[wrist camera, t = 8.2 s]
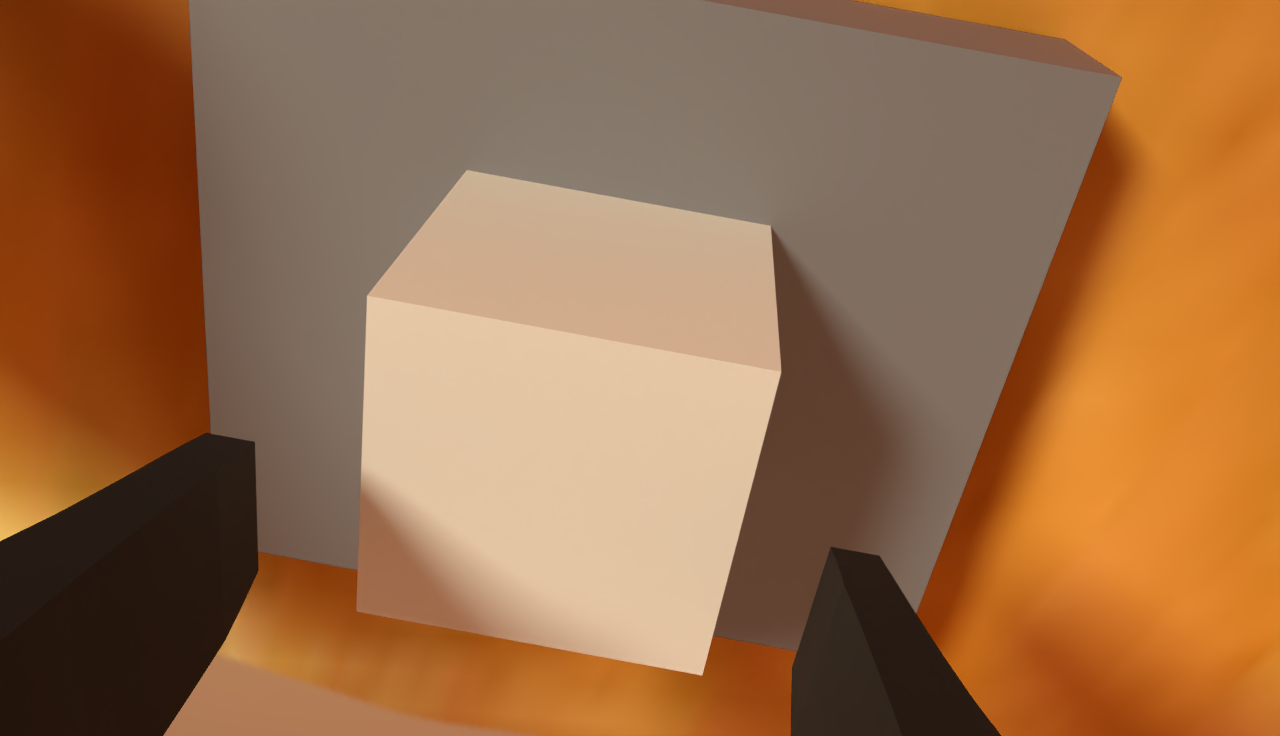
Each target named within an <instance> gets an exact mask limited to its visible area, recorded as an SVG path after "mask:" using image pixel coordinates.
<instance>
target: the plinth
mask: <svg viewBox="0 0 1280 736" xmlns="http://www.w3.org/2000/svg"><path fill="white" fill-rule="evenodd" d="M189 18H190V38H191V57H192V77H193V97H194V116H195V136H196V156H197V175H198V195H199V215H200V235H201V254H202V274H203V294H204V313H205V333H206V353H207V372H208V392H209V412H210V431H211V434H215V435H221V436H226V437H232V438H237V439H243V440H248V441H254V442H255V460H256V498H257V535H258V552H261V553H267V554H272V555H278V556H283V557H288V558H294V559H299V560H305V561H310V562H316V563H321V564H326V565H332V566H337V567H343V568H348V569H353V570H358V547H359V518H360V489H361V459H362V430H363V400H364V371H365V342H366V312H367V295H368V294H369V293H370V291H371V290H372V289H373V288H374V286H375V285H376V284H377V282H378V281H379V280H380V279H381V277H382V276H383V275H384V274H385V272H386V271H387V270H388V269H389V267H390V266H391V265H392V264H393V262H394V261H395V260H396V259H397V257H398V256H399V255H400V254H401V252H402V251H403V250H404V249H405V247H406V246H407V245H408V243H409V242H410V241H411V240H412V238H413V237H414V236H415V235H416V233H417V232H418V231H419V230H420V228H421V227H422V226H423V225H424V223H425V222H426V221H427V220H428V218H429V217H430V216H431V215H432V213H433V212H434V211H435V209H436V208H437V207H438V206H439V204H440V203H441V202H442V201H443V199H444V198H445V197H446V196H447V194H448V193H449V192H450V191H451V189H452V188H453V187H454V186H455V184H456V183H457V182H458V181H459V179H460V178H461V177H462V176H463V174H464V173H465V172H466V170H469V171H475V172H480V173H486V174H491V175H497V176H502V177H507V178H513V179H518V180H524V181H529V182H535V183H540V184H546V185H551V186H556V187H562V188H567V189H573V190H578V191H584V192H589V193H595V194H600V195H605V196H611V197H616V198H622V199H627V200H633V201H638V202H644V203H649V204H654V205H660V206H665V207H671V208H676V209H682V210H687V211H693V212H698V213H703V214H709V215H714V216H720V217H725V218H731V219H736V220H742V221H747V222H752V223H758V224H763V225H769V226H771V236H772V249H773V263H774V277H775V291H776V304H777V318H778V332H779V346H780V359H781V375H780V379H779V383H778V387H777V391H776V395H775V398H774V402H773V406H772V410H771V414H770V418H769V421H768V425H767V429H766V433H765V437H764V441H763V444H762V448H761V452H760V456H759V460H758V464H757V468H756V471H755V475H754V479H753V483H752V487H751V491H750V494H749V498H748V502H747V506H746V510H745V514H744V518H743V521H742V525H741V529H740V533H739V537H738V541H737V544H736V548H735V552H734V556H733V560H732V564H731V567H730V571H729V575H728V579H727V583H726V587H725V591H724V594H723V598H722V602H721V606H720V610H719V614H718V617H717V621H716V625H715V629H714V633H713V636H716V637H722V638H727V639H733V640H738V641H743V642H749V643H754V644H760V645H765V646H771V647H776V648H781V649H787V650H792V651H798V648H799V645H800V641H801V638H802V635H803V632H804V629H805V626H806V623H807V619H808V616H809V613H810V610H811V607H812V604H813V601H814V597H815V594H816V591H817V588H818V585H819V582H820V578H821V575H822V572H823V569H824V566H825V563H826V560H827V556H828V553H829V550H830V547H835V548H841V549H846V550H852V551H857V552H863V553H868V554H873V555H879V556H880V557H881V559H882V560H883V562H884V563H885V565H886V567H887V568H888V570H889V571H890V573H891V574H892V576H893V577H894V579H895V581H896V582H897V584H898V585H899V587H900V589H901V590H902V592H903V594H904V595H905V597H906V598H907V600H908V602H909V603H910V605H911V606H912V608H913V610H914V611H915V613H917V610H918V607H919V605H920V602H921V600H922V597H923V594H924V592H925V589H926V587H927V584H928V581H929V579H930V576H931V574H932V571H933V568H934V566H935V563H936V561H937V558H938V555H939V553H940V550H941V548H942V545H943V542H944V540H945V537H946V535H947V532H948V529H949V527H950V524H951V522H952V519H953V516H954V514H955V511H956V509H957V506H958V503H959V501H960V498H961V496H962V493H963V490H964V488H965V485H966V483H967V480H968V477H969V475H970V472H971V470H972V467H973V464H974V462H975V459H976V457H977V454H978V451H979V449H980V446H981V443H982V441H983V438H984V436H985V433H986V430H987V428H988V425H989V423H990V420H991V417H992V415H993V412H994V410H995V407H996V404H997V402H998V399H999V397H1000V394H1001V391H1002V389H1003V386H1004V384H1005V381H1006V378H1007V376H1008V373H1009V371H1010V368H1011V365H1012V363H1013V360H1014V358H1015V355H1016V352H1017V350H1018V347H1019V345H1020V342H1021V339H1022V337H1023V334H1024V332H1025V329H1026V326H1027V324H1028V321H1029V319H1030V316H1031V313H1032V311H1033V308H1034V306H1035V303H1036V300H1037V298H1038V295H1039V293H1040V290H1041V287H1042V285H1043V282H1044V279H1045V277H1046V274H1047V272H1048V269H1049V266H1050V264H1051V261H1052V259H1053V256H1054V253H1055V251H1056V248H1057V246H1058V243H1059V240H1060V238H1061V235H1062V233H1063V230H1064V227H1065V225H1066V222H1067V220H1068V217H1069V214H1070V212H1071V209H1072V207H1073V204H1074V201H1075V199H1076V196H1077V194H1078V191H1079V188H1080V186H1081V183H1082V181H1083V178H1084V175H1085V173H1086V170H1087V168H1088V165H1089V162H1090V160H1091V157H1092V155H1093V152H1094V149H1095V147H1096V144H1097V142H1098V139H1099V136H1100V134H1101V131H1102V129H1103V126H1104V123H1105V121H1106V118H1107V115H1108V113H1109V110H1110V108H1111V105H1112V102H1113V100H1114V97H1115V95H1116V92H1117V89H1118V87H1119V84H1120V82H1121V79H1122V77H1121V76H1119V75H1118V74H1116V73H1115V72H1113V71H1112V70H1110V69H1109V68H1107V67H1106V66H1104V65H1103V64H1101V63H1100V62H1098V61H1097V60H1095V59H1094V58H1092V57H1091V56H1089V55H1088V54H1086V53H1085V52H1083V51H1082V50H1080V49H1079V48H1077V47H1076V46H1074V45H1073V44H1071V43H1070V42H1068V41H1067V40H1065V39H1059V38H1054V37H1049V36H1043V35H1038V34H1032V33H1027V32H1021V31H1016V30H1011V29H1005V28H1000V27H994V26H989V25H983V24H978V23H972V22H967V21H962V20H956V19H951V18H945V17H940V16H934V15H929V14H923V13H918V12H913V11H907V10H902V9H896V8H891V7H885V6H880V5H874V4H869V3H864V2H858V1H853V0H189Z"/></svg>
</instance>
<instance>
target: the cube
mask: <svg viewBox="0 0 1280 736" xmlns="http://www.w3.org/2000/svg"><path fill="white" fill-rule="evenodd" d="M780 375H781V359H780V346H779V332H778V318H777V304H776V291H775V277H774V263H773V249H772V236H771V226H769V225H763V224H758V223H752V222H747V221H742V220H736V219H731V218H725V217H720V216H714V215H709V214H703V213H698V212H693V211H687V210H682V209H676V208H671V207H665V206H660V205H654V204H649V203H644V202H638V201H633V200H627V199H622V198H616V197H611V196H605V195H600V194H595V193H589V192H584V191H578V190H573V189H567V188H562V187H556V186H551V185H546V184H540V183H535V182H529V181H524V180H518V179H513V178H507V177H502V176H497V175H491V174H486V173H480V172H475V171H469V170H466V172H465V173H464V174H463V176H462V177H461V178H460V179H459V181H458V182H457V183H456V184H455V186H454V187H453V188H452V189H451V191H450V192H449V193H448V194H447V196H446V197H445V198H444V199H443V201H442V202H441V203H440V204H439V206H438V207H437V208H436V209H435V211H434V212H433V213H432V215H431V216H430V217H429V218H428V220H427V221H426V222H425V223H424V225H423V226H422V227H421V228H420V230H419V231H418V232H417V233H416V235H415V236H414V237H413V238H412V240H411V241H410V242H409V243H408V245H407V246H406V247H405V249H404V250H403V251H402V252H401V254H400V255H399V256H398V257H397V259H396V260H395V261H394V262H393V264H392V265H391V266H390V267H389V269H388V270H387V271H386V272H385V274H384V275H383V276H382V277H381V279H380V280H379V281H378V282H377V284H376V285H375V286H374V288H373V289H372V290H371V291H370V293H369V294H368V295H367V312H366V342H365V371H364V400H363V430H362V459H361V489H360V518H359V547H358V577H357V606H356V612H361V613H366V614H371V615H377V616H382V617H388V618H393V619H399V620H404V621H409V622H415V623H420V624H426V625H431V626H436V627H442V628H447V629H453V630H458V631H464V632H469V633H474V634H480V635H485V636H491V637H496V638H502V639H507V640H512V641H518V642H523V643H529V644H534V645H540V646H545V647H550V648H556V649H561V650H567V651H572V652H577V653H583V654H588V655H594V656H599V657H605V658H610V659H615V660H621V661H626V662H632V663H637V664H643V665H648V666H653V667H659V668H664V669H670V670H675V671H681V672H686V673H691V674H697V675H703V671H704V667H705V664H706V660H707V656H708V652H709V648H710V644H711V640H712V637H713V633H714V629H715V625H716V621H717V617H718V614H719V610H720V606H721V602H722V598H723V594H724V591H725V587H726V583H727V579H728V575H729V571H730V567H731V564H732V560H733V556H734V552H735V548H736V544H737V541H738V537H739V533H740V529H741V525H742V521H743V518H744V514H745V510H746V506H747V502H748V498H749V494H750V491H751V487H752V483H753V479H754V475H755V471H756V468H757V464H758V460H759V456H760V452H761V448H762V444H763V441H764V437H765V433H766V429H767V425H768V421H769V418H770V414H771V410H772V406H773V402H774V398H775V395H776V391H777V387H778V383H779V379H780Z"/></svg>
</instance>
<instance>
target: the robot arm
mask: <svg viewBox="0 0 1280 736" xmlns="http://www.w3.org/2000/svg"><path fill="white" fill-rule="evenodd" d="M257 572H258V535H257V498H256V460H255V442H254V441H248V440H243V439H237V438H232V437H226V436H221V435H215V434H210V433H205V434H203V435H201V436H199V437H197V438H195V439H193V440H191V441H189V442H187V443H186V444H184V445H182V446H180V447H178V448H176V449H174V450H173V451H171V452H169V453H167V454H165V455H163V456H162V457H160V458H158V459H156V460H154V461H153V462H151V463H149V464H147V465H145V466H144V467H142V468H140V469H138V470H136V471H135V472H133V473H131V474H129V475H127V476H126V477H124V478H122V479H120V480H118V481H117V482H115V483H113V484H111V485H109V486H107V487H105V488H104V489H102V490H100V491H98V492H96V493H94V494H93V495H91V496H89V497H87V498H85V499H83V500H81V501H80V502H78V503H76V504H74V505H72V506H70V507H68V508H67V509H65V510H63V511H61V512H59V513H57V514H55V515H53V516H51V517H49V518H47V519H45V520H43V521H41V522H39V523H37V524H35V525H33V526H31V527H29V528H27V529H25V530H22V531H20V532H18V533H16V534H14V535H12V536H10V537H8V538H6V539H4V540H2V541H0V736H163V735H164V733H165V732H166V730H167V729H168V728H169V726H170V724H171V723H172V721H173V720H174V718H175V717H176V715H177V714H178V712H179V711H180V709H181V708H182V706H183V705H184V703H185V702H186V700H187V698H188V697H189V696H190V694H191V693H192V691H193V689H194V688H195V686H196V685H197V683H198V682H199V680H200V679H201V677H202V676H203V674H204V672H205V671H206V669H207V668H208V666H209V665H210V663H211V662H212V660H213V659H214V657H215V655H216V654H217V652H218V651H219V649H220V648H221V646H222V644H223V643H224V641H225V639H226V637H227V635H228V633H229V631H230V629H231V627H232V625H233V623H234V621H235V619H236V617H237V615H238V613H239V611H240V609H241V607H242V605H243V603H244V600H245V598H246V596H247V594H248V592H249V590H250V587H251V585H252V583H253V581H254V579H255V577H256V575H257ZM791 736H1001V735H1000V733H999V732H998V731H997V730H996V728H995V727H994V726H993V724H992V723H991V722H990V721H989V719H988V718H987V717H986V715H985V714H984V713H983V712H982V710H981V709H980V708H979V706H978V705H977V703H976V702H975V701H974V699H973V698H972V697H971V695H970V694H969V692H968V691H967V689H966V688H965V687H964V685H963V684H962V682H961V681H960V679H959V678H958V676H957V675H956V673H955V672H954V671H953V669H952V668H951V666H950V665H949V663H948V662H947V660H946V659H945V658H944V656H943V655H942V653H941V652H940V650H939V648H938V647H937V645H936V644H935V642H934V641H933V639H932V638H931V636H930V635H929V633H928V632H927V630H926V628H925V627H924V625H923V624H922V622H921V621H920V619H919V617H918V616H917V614H916V613H915V611H914V610H913V608H912V606H911V605H910V603H909V602H908V600H907V598H906V597H905V595H904V594H903V592H902V590H901V589H900V587H899V585H898V584H897V582H896V581H895V579H894V577H893V576H892V574H891V573H890V571H889V570H888V568H887V567H886V565H885V563H884V562H883V560H882V559H881V557H880V556H879V555H873V554H868V553H863V552H857V551H852V550H846V549H841V548H835V547H830V550H829V553H828V556H827V560H826V563H825V566H824V569H823V572H822V575H821V578H820V582H819V585H818V588H817V591H816V594H815V597H814V601H813V604H812V607H811V610H810V613H809V616H808V619H807V623H806V626H805V629H804V632H803V635H802V638H801V641H800V645H799V648H798V651H797V654H796V657H795V660H794V663H793V667H792V695H791Z"/></svg>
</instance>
